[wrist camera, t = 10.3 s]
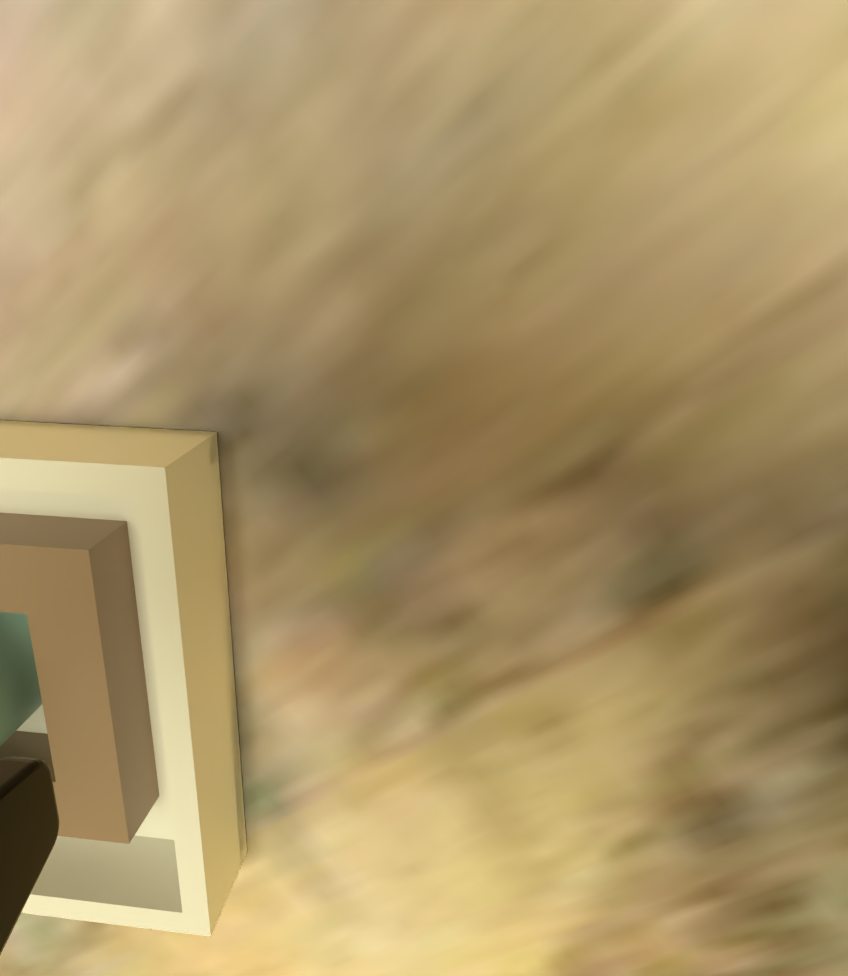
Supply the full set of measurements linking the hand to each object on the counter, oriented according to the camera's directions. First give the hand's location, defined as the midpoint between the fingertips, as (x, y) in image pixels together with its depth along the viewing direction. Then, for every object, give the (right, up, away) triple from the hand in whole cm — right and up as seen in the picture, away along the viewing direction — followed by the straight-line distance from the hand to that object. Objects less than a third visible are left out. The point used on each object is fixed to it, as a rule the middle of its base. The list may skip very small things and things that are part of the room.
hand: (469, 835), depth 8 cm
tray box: (-14, -1, +16) cm, 21 cm away
